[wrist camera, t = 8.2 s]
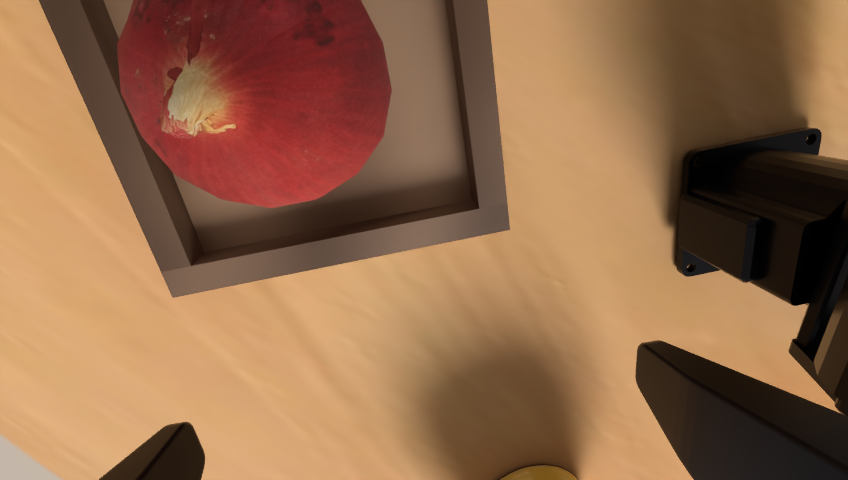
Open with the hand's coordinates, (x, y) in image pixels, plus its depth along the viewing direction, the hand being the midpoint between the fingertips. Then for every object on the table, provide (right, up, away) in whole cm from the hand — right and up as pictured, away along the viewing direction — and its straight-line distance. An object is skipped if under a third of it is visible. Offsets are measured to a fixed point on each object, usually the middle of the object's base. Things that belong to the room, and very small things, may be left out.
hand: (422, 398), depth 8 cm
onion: (-4, +8, +5) cm, 11 cm away
